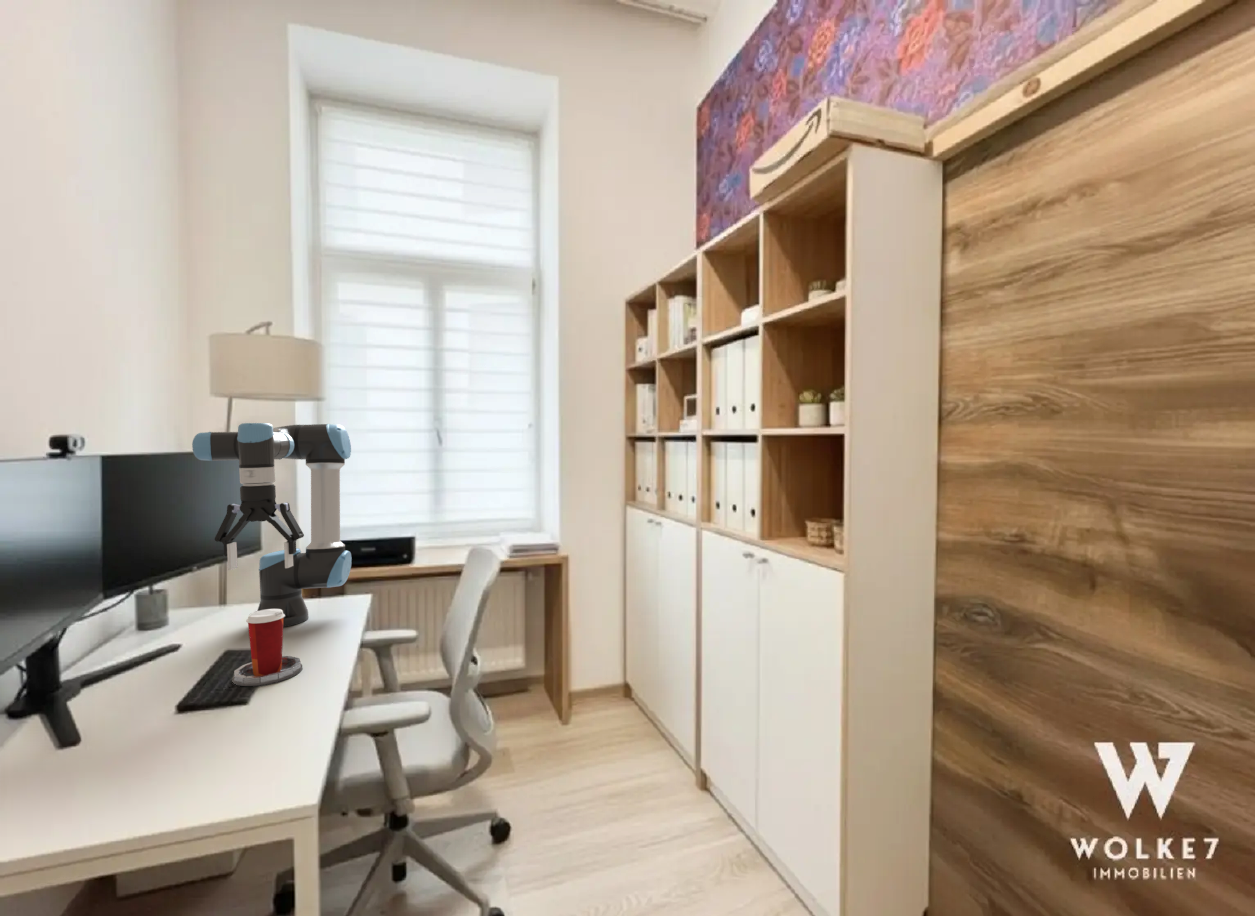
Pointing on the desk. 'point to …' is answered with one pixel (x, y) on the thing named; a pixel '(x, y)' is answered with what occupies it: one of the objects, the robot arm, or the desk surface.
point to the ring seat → (288, 670)
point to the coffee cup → (266, 640)
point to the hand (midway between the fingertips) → (261, 568)
